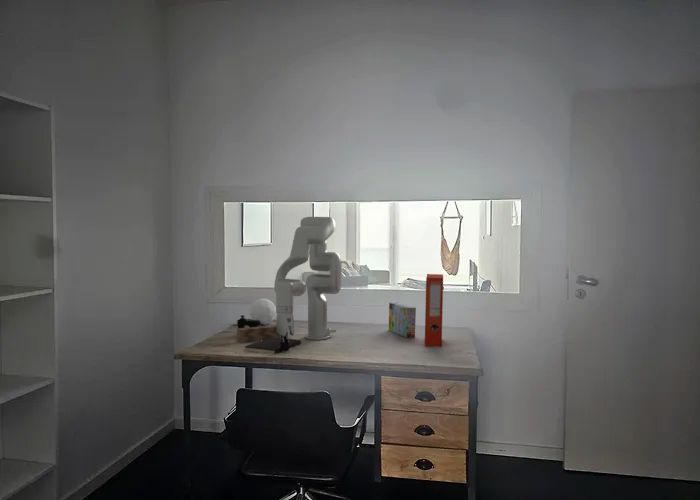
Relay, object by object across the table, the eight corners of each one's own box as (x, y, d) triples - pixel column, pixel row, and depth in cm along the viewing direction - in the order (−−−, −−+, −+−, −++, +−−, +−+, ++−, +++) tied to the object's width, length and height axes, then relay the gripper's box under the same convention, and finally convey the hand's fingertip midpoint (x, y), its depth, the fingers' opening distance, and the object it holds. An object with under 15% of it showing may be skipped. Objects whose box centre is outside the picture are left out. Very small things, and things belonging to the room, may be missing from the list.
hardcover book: (244, 351, 261) (244, 346, 261) (271, 341, 282) (271, 336, 282) (275, 355, 254) (274, 350, 254) (300, 344, 275) (300, 340, 275)
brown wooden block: (283, 336, 292) (283, 324, 291) (286, 338, 288) (286, 325, 288) (237, 341, 280) (237, 328, 280) (239, 342, 277) (239, 330, 277)
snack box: (416, 337, 292) (416, 307, 291) (406, 338, 290) (406, 307, 289) (397, 329, 312) (397, 301, 311) (387, 330, 310) (388, 301, 309)
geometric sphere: (269, 333, 323) (277, 314, 316) (243, 324, 321) (251, 305, 313) (274, 317, 335) (282, 298, 328) (249, 308, 333) (256, 289, 325)
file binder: (442, 339, 288) (443, 274, 286) (442, 346, 271) (443, 278, 269) (425, 338, 289) (426, 274, 287) (424, 346, 272) (425, 277, 270)
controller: (239, 334, 297) (239, 314, 296) (262, 335, 294) (262, 315, 293) (235, 335, 292) (235, 316, 292) (258, 337, 289) (258, 317, 289)
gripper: (299, 311, 253) (299, 353, 254) (286, 306, 266) (286, 346, 267) (283, 312, 249) (283, 355, 250) (270, 307, 262) (270, 348, 263)
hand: (284, 350), depth 258 cm, fingers closed
